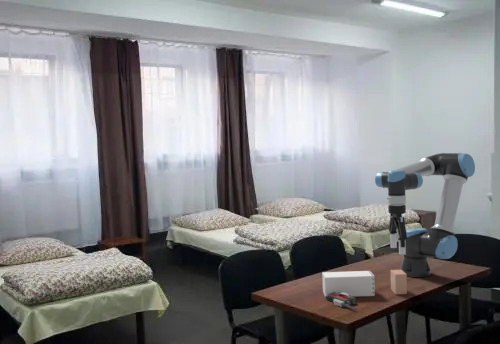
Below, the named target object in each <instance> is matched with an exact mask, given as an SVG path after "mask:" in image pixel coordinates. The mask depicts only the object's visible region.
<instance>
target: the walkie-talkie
mask: <svg viewBox="0 0 500 344" xmlns="http://www.w3.org/2000/svg"><path fill="white" fill-rule="evenodd" d="M325 300H328V301H329V302H332V303H334V305H335V306H337V307H339V306H340V307H339V308H342V307H344V308H347V309H350V310H355V311H357V308H356V307H354V306H352V305H355V304H356V301H357V300H356V297H355V296H354V297H351V296H350V294H347V293H344V292H343V293H339V292H333V293H329V294H328V296H326V297H325Z"/></svg>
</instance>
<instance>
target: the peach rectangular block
mask: <svg viewBox="0 0 500 344" xmlns="http://www.w3.org/2000/svg"><path fill="white" fill-rule="evenodd" d="M407 277H408V276H407V274H406V273H405V272H403V271H402V270H400V269H390V290H391V291H392V292H393V293H394V294H395V295H408V287H407V286H408V285H407V283H408V282H407V281H408V280H407V279H408V278H407Z"/></svg>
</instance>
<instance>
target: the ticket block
mask: <svg viewBox="0 0 500 344" xmlns="http://www.w3.org/2000/svg"><path fill="white" fill-rule="evenodd" d="M321 275H322V276H321V278H322V279H321V280H322V293H323V295H324V298H326V296H328V294H329V293H333V292H339V293H343V292H344V293H347V294H350V296H351V297H354V298H355V297H374V296H375V295H376V292H375V291H376V289H375V274H373V272H372V271H370V270H357V271H355V270H354V271H326V272H325V271H322V274H321Z"/></svg>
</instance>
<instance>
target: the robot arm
mask: <svg viewBox="0 0 500 344" xmlns="http://www.w3.org/2000/svg"><path fill="white" fill-rule="evenodd" d="M475 171H476V163H475V160H474V158H473V157H472V155H470V154H469V153H465V152H464V153H463V152H456V153H455V152H454V153H453V152H451V153H450V152H446V153H445V152H441V153H436V154H433V155H429V156H427V157H423V158H421V159H419V161H417V162H415V163H412V164H409V165H406V166H402V167H399V168H396V169H393V170H389V171H386V172H385V171H382V172H377V173H376V175H375V178H374V183H375V185H376V186H377V187H378V188H381V189H382V188H383V189H388V190H387V191H388V193H387V195H388V196H387V198H386V199H387V201H388V208H387V209H388V213H389V214H390V216H389V218H390V219H389V226H388V231H389V235H390V237H389V238H390V240H389V241H390V248H391V249H397V248H398V253H399V255H403V258H402V262H401V264H400V268H399V270H402V271H403V272H405V273H406V274H407V277H410V278H411V277H412V278H425V277H429V276H431V274H432V269H431V266H430V263H429V259H428V257H432V258H437V259H440V260H442V259H444V260H447V259H452V257H453V256H454V255H455V253H457V250H458V246H459V245H458V239H457V237H456V236H455V235H456V234H455V232H454V230H453V228H454V226H455V225H454V224H455V220H456V218H457V211H458V207H459V203H460V199H461V194H462V191H463V186H464V184H466V183H467V182H468V178H471V177H473V176H474V174H475ZM430 176H442V178H443V180H444V184H443V187H442V192H441V196H440V201H439V204H438V209H437V213H436V217H435V221H434V225H433V226H431V227H429V228H430V229H429V232H428V229H427V228H425V227H424V228H423V227H421V228H419V227H418V228H409V229H407V228H406V223H405V217H404V216H403V214H406V212H407V210H406V209H407V207H406V202H407V201H406V198H407V197H406V191H409V190H417V189H419V188H421V187H422V185H423V182H424V179H423V177H430ZM397 234H398V235H397ZM397 236H398V238H397Z"/></svg>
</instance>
